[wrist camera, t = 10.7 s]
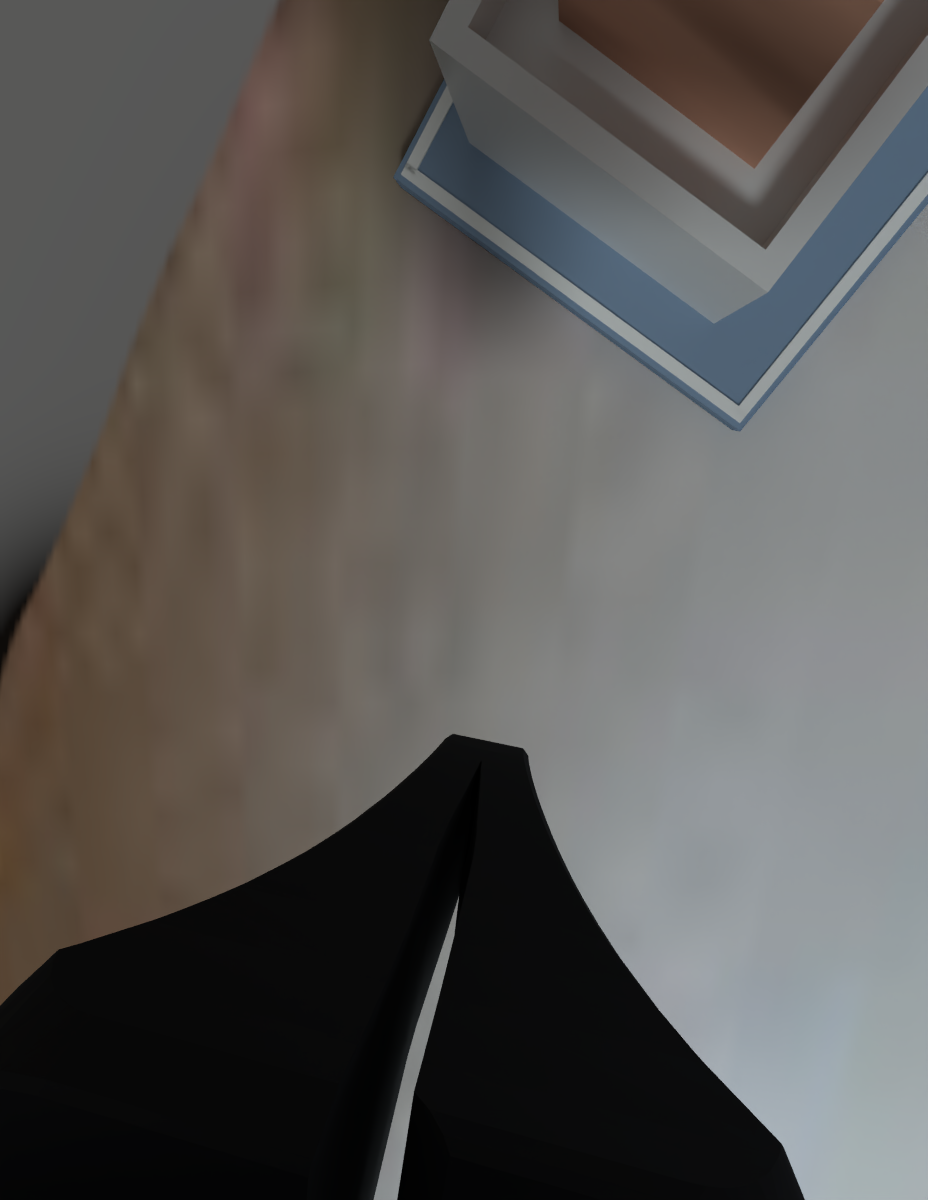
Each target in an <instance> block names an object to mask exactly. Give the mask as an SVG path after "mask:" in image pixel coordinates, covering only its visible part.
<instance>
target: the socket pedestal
mask: <svg viewBox="0 0 928 1200" xmlns="http://www.w3.org/2000/svg"><path fill="white" fill-rule="evenodd" d="M429 41H430V43H431V46H432V49H433V51H434V54H435V56H436V59H437V61H438V64H439V67H440V69H441V72H442V74H443V77H444V79H445V82H446V84H447V87H448V90H449V92H450V95H451V97H452V100H453V102H454V105H455V108H456V110H457V113H458V115H459V118H460V120H461V123H462V125H463V128H464V131H465V133H466V136H467V138H468V141H469V143H470V144H472V145H473V146H474V147H476V148H477V149H478V150H480V151H481V152H482V153H484V154H485V155H486V156H488V157H489V158H491V159H492V160H493V161H495V162H496V163H497V164H499V165H500V166H501V167H503V168H504V169H505V170H507V171H508V172H509V173H511V174H512V175H514V176H515V177H516V178H518V179H519V180H520V181H522V182H523V183H524V184H526V185H527V186H528V187H530V188H531V189H532V190H534V191H535V192H537V193H538V194H539V195H541V196H542V197H543V198H545V199H546V200H547V201H549V202H550V203H551V204H553V205H554V206H555V207H557V208H558V209H559V210H561V211H562V212H564V213H565V214H566V215H568V216H569V217H570V218H572V219H573V220H574V221H576V222H577V223H578V224H580V225H581V226H582V227H584V228H585V229H587V230H588V231H589V232H591V233H592V234H593V235H595V236H596V237H597V238H599V239H600V240H601V241H603V242H604V243H605V244H607V245H608V246H609V247H611V248H612V249H614V250H615V251H616V252H618V253H619V254H620V255H622V256H623V257H624V258H626V259H627V260H628V261H630V262H631V263H632V264H634V265H635V266H637V267H638V268H639V269H641V270H642V271H643V272H645V273H646V274H647V275H649V276H650V277H651V278H653V279H654V280H655V281H657V282H658V283H660V284H661V285H662V286H664V287H665V288H666V289H668V290H669V291H670V292H672V293H673V294H674V295H676V296H677V297H678V298H680V299H681V300H682V301H684V302H685V303H687V304H688V305H689V306H691V307H692V308H693V309H695V310H696V311H697V312H699V313H700V314H701V315H703V316H704V317H705V318H707V319H708V320H710V321H711V322H712V323H716V322H718V321H719V320H721V319H723V318H725V317H726V316H728V315H730V314H732V313H733V312H735V311H737V310H738V309H740V308H742V307H744V306H745V305H747V304H749V303H751V302H752V301H754V300H756V299H758V298H759V297H761V296H763V295H764V294H766V293H768V292H769V290H770V289H771V288H772V287H773V285H774V284H775V283H776V281H777V280H778V279H779V277H780V276H781V275H782V274H783V272H784V271H785V270H786V268H787V267H788V266H789V265H790V263H791V262H792V261H793V259H794V258H795V257H796V255H797V254H798V253H799V252H800V250H801V249H802V248H803V246H804V245H805V244H806V243H807V241H808V240H809V239H810V237H811V236H812V235H813V233H814V232H815V231H816V230H817V228H818V227H819V226H820V224H821V223H822V222H823V221H824V219H825V218H826V217H827V215H828V214H829V213H830V211H831V210H832V209H833V208H834V206H835V205H836V204H837V202H838V201H839V200H840V199H841V197H842V196H843V195H844V193H845V192H846V191H847V190H848V188H849V187H850V186H851V184H852V183H853V182H854V180H855V179H856V178H857V177H858V175H859V174H860V173H861V171H862V170H863V169H864V168H865V166H866V165H867V164H868V162H869V161H870V160H871V158H872V157H873V156H874V155H875V153H876V152H877V151H878V149H879V148H880V147H881V146H882V144H883V143H884V142H885V140H886V139H887V138H888V136H889V135H890V134H891V133H892V131H893V130H894V129H895V127H896V126H897V125H898V124H899V122H900V121H901V120H902V118H903V117H904V116H905V114H906V113H907V112H908V111H909V109H910V108H911V107H912V105H913V104H914V103H915V102H916V100H917V99H918V98H919V96H920V95H921V94H922V92H923V91H924V90H925V89H926V87H927V86H928V0H884V1H883V3H882V4H881V5H880V7H879V8H878V9H877V10H876V12H875V13H874V14H873V16H872V17H871V18H870V20H869V21H868V22H867V23H866V25H865V26H864V27H863V29H862V30H861V31H860V33H859V34H858V35H857V36H856V38H855V39H854V40H853V42H852V43H851V44H850V46H849V47H848V48H847V49H846V51H845V52H844V53H843V55H842V56H841V57H840V58H839V60H838V61H837V62H836V64H835V65H834V66H833V68H832V69H831V70H830V71H829V73H828V74H827V75H826V77H825V78H824V79H823V81H822V82H821V83H820V84H819V86H818V87H817V88H816V90H815V91H814V92H813V94H812V95H811V96H810V97H809V99H808V100H807V101H806V103H805V104H804V105H803V106H802V108H801V109H800V110H799V112H798V113H797V114H796V116H795V117H794V118H793V119H792V121H791V122H790V123H789V125H788V126H787V127H786V129H785V130H784V131H783V132H782V134H781V135H780V136H779V138H778V139H777V140H776V142H775V143H774V144H773V145H772V147H771V148H770V149H769V151H768V152H767V153H766V154H765V156H764V157H763V158H762V160H761V161H760V162H759V164H758V165H757V166H756V167H755V169H754V168H753V167H751V166H750V165H749V164H747V163H746V162H745V161H743V160H742V159H741V158H739V157H738V156H737V155H736V154H734V153H733V152H732V151H730V150H729V149H728V148H726V147H725V146H724V145H722V144H721V143H720V142H718V141H717V140H716V139H714V138H713V137H712V136H710V135H709V134H708V133H707V132H705V131H704V130H703V129H701V128H700V127H699V126H697V125H696V124H695V123H693V122H692V121H691V120H689V119H688V118H687V117H685V116H684V115H683V114H681V113H680V112H679V111H677V110H676V109H675V108H674V107H672V106H671V105H670V104H668V103H667V102H666V101H664V100H663V99H662V98H660V97H659V96H658V95H656V94H655V93H654V92H652V91H651V90H650V89H648V88H647V87H646V86H645V85H643V84H642V83H641V82H639V81H638V80H637V79H635V78H634V77H633V76H631V75H630V74H629V73H627V72H626V71H625V70H623V69H622V68H621V67H619V66H618V65H617V64H615V63H614V62H613V61H612V60H610V59H609V58H608V57H606V56H605V55H604V54H602V53H601V52H600V51H598V50H597V49H596V48H594V47H593V46H592V45H590V44H589V43H588V42H586V41H585V40H584V39H583V38H581V37H580V36H579V35H577V34H576V33H575V32H573V31H572V30H571V29H569V28H568V27H567V26H565V25H564V24H563V23H561V22H560V21H559V9H558V0H449V1H448V3H447V5H446V7H445V9H444V11H443V13H442V15H441V17H440V19H439V21H438V23H437V25H436V27H435V29H434V31H433V33H432V35H431V37H430V39H429Z"/></svg>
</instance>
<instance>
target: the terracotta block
mask: <svg viewBox="0 0 928 1200" xmlns="http://www.w3.org/2000/svg"><path fill="white" fill-rule="evenodd" d="M883 1H884V0H558V9H559V21H560V22H561V23H563V24H564V25H565V26H567V27H568V28H569V29H571V30H572V31H573V32H575V33H576V34H577V35H579V36H580V37H581V38H583V39H584V40H585V41H586V42H588V43H589V44H590V45H592V46H593V47H594V48H596V49H597V50H598V51H600V52H601V53H602V54H604V55H605V56H606V57H608V58H609V59H610V60H612V61H613V62H614V63H615V64H617V65H618V66H619V67H621V68H622V69H623V70H625V71H626V72H627V73H629V74H630V75H631V76H633V77H634V78H635V79H637V80H638V81H639V82H641V83H642V84H643V85H645V86H646V87H647V88H648V89H650V90H651V91H652V92H654V93H655V94H656V95H658V96H659V97H660V98H662V99H663V100H664V101H666V102H667V103H668V104H670V105H671V106H672V107H674V108H675V109H676V110H677V111H679V112H680V113H681V114H683V115H684V116H685V117H687V118H688V119H689V120H691V121H692V122H693V123H695V124H696V125H697V126H699V127H700V128H701V129H703V130H704V131H705V132H707V133H708V134H709V135H710V136H712V137H713V138H714V139H716V140H717V141H718V142H720V143H721V144H722V145H724V146H725V147H726V148H728V149H729V150H730V151H732V152H733V153H734V154H736V155H737V156H738V157H739V158H741V159H742V160H743V161H745V162H746V163H747V164H749V165H750V166H751V167H753V168H754V169H755V167H756V166H757V165H758V164H759V162H760V161H761V160H762V158H763V157H764V156H765V154H766V153H767V152H768V151H769V149H770V148H771V147H772V145H773V144H774V143H775V142H776V140H777V139H778V138H779V136H780V135H781V134H782V132H783V131H784V130H785V129H786V127H787V126H788V125H789V123H790V122H791V121H792V119H793V118H794V117H795V116H796V114H797V113H798V112H799V110H800V109H801V108H802V106H803V105H804V104H805V103H806V101H807V100H808V99H809V97H810V96H811V95H812V94H813V92H814V91H815V90H816V88H817V87H818V86H819V84H820V83H821V82H822V81H823V79H824V78H825V77H826V75H827V74H828V73H829V71H830V70H831V69H832V68H833V66H834V65H835V64H836V62H837V61H838V60H839V58H840V57H841V56H842V55H843V53H844V52H845V51H846V49H847V48H848V47H849V46H850V44H851V43H852V42H853V40H854V39H855V38H856V36H857V35H858V34H859V33H860V31H861V30H862V29H863V27H864V26H865V25H866V23H867V22H868V21H869V20H870V18H871V17H872V16H873V14H874V13H875V12H876V10H877V9H878V8H879V7H880V5H881V4H882V3H883Z"/></svg>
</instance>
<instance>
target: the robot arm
mask: <svg viewBox="0 0 928 1200" xmlns="http://www.w3.org/2000/svg"><path fill="white" fill-rule="evenodd" d="M458 897H459V902H458V910H457V919H456V927H455V936H454V940H453V944H452V948H451V952H450V956H449V960H448V964H447V968H446V972H445V976H444V980H443V984H442V988H441V992H440V996H439V1000H438V1003H437V1007H436V1011H435V1015H434V1019H433V1022H432V1026H431V1030H430V1034H429V1038H428V1042H427V1045H426V1049H425V1053H424V1057H423V1061H422V1064H421V1068H420V1072H419V1076H418V1079H417V1083H416V1087H415V1090H414V1096H413V1102H412V1109H411V1115H410V1122H409V1128H408V1135H407V1141H406V1147H405V1154H404V1160H403V1167H402V1173H401V1180H400V1186H399V1193H398V1199H397V1200H805V1199H804V1197H803V1194H802V1192H801V1189H800V1187H799V1184H798V1182H797V1179H796V1177H795V1174H794V1172H793V1169H792V1167H791V1164H790V1162H789V1160H788V1157H787V1155H786V1152H785V1150H784V1147H783V1146H782V1144H781V1143H780V1142H779V1141H778V1140H777V1139H776V1137H775V1136H774V1135H773V1134H772V1133H771V1132H770V1131H769V1130H768V1129H767V1128H766V1127H765V1126H764V1125H763V1124H762V1123H761V1122H760V1121H759V1120H758V1119H757V1118H756V1117H755V1116H754V1115H753V1114H752V1112H751V1111H750V1110H749V1109H748V1108H747V1107H746V1106H745V1105H744V1104H743V1103H742V1102H741V1101H740V1100H739V1099H738V1098H737V1097H736V1096H735V1095H734V1094H733V1093H732V1092H731V1091H730V1090H729V1088H728V1087H727V1086H726V1085H725V1084H724V1083H723V1082H722V1081H721V1080H720V1079H719V1078H718V1077H717V1076H716V1075H715V1074H714V1073H713V1072H712V1071H711V1070H710V1069H709V1068H708V1067H707V1066H706V1064H705V1063H704V1062H703V1061H702V1060H701V1059H700V1058H699V1057H698V1056H697V1054H696V1053H695V1052H694V1051H693V1050H692V1049H691V1048H690V1046H689V1045H688V1044H687V1043H686V1042H685V1040H684V1039H683V1038H682V1037H681V1036H680V1035H679V1033H678V1032H677V1031H676V1030H675V1029H674V1027H673V1026H672V1025H671V1024H670V1023H669V1022H668V1020H667V1019H666V1018H665V1017H664V1016H663V1014H662V1013H661V1012H660V1011H659V1010H658V1008H657V1007H656V1006H655V1004H654V1003H653V1002H652V1000H651V999H650V998H649V996H648V995H647V994H646V992H645V991H644V989H643V988H642V987H641V985H640V984H639V983H638V981H637V980H636V979H635V977H634V976H633V975H632V973H631V972H630V971H629V969H628V968H627V967H626V965H625V964H624V963H623V961H622V960H621V959H620V957H619V956H618V954H617V953H616V951H615V950H614V948H613V946H612V945H611V943H610V942H609V940H608V939H607V937H606V936H605V934H604V933H603V931H602V929H601V928H600V926H599V925H598V923H597V921H596V920H595V918H594V916H593V915H592V913H591V911H590V910H589V908H588V906H587V905H586V903H585V901H584V899H583V898H582V896H581V894H580V892H579V890H578V888H577V887H576V885H575V883H574V881H573V879H572V877H571V875H570V873H569V871H568V869H567V867H566V865H565V863H564V861H563V859H562V856H561V854H560V852H559V850H558V848H557V846H556V843H555V841H554V839H553V836H552V834H551V831H550V829H549V826H548V824H547V821H546V819H545V816H544V813H543V811H542V808H541V805H540V802H539V800H538V797H537V793H536V790H535V787H534V783H533V780H532V776H531V771H530V766H529V760H528V755H527V753H526V752H525V750H524V749H523V748H519V747H514V746H509V745H504V744H499V743H494V742H490V741H485V740H480V739H475V738H470V737H466V736H461V735H456V734H452V735H450V736H449V737H447V738H446V739H445V740H444V741H443V742H442V743H441V744H440V745H439V747H438V748H437V749H436V750H435V751H434V752H433V753H432V754H431V755H430V756H429V757H428V758H427V759H426V760H425V761H424V762H423V763H422V764H421V765H420V766H419V767H418V768H417V769H416V770H415V771H414V772H412V773H411V774H410V775H409V776H408V777H407V778H406V779H404V780H403V781H402V782H401V783H400V784H399V785H398V786H397V787H395V788H394V789H393V790H392V791H391V792H390V793H388V794H387V795H386V796H385V797H384V798H382V799H381V800H380V801H378V802H377V803H376V804H374V805H373V806H372V807H371V808H369V809H368V810H367V811H365V812H364V813H363V814H361V815H360V816H359V817H358V818H356V819H355V820H354V821H352V822H351V823H349V824H348V825H346V826H345V827H343V828H342V829H341V830H339V831H338V832H336V833H335V834H333V835H332V836H330V837H329V838H327V839H325V840H324V841H322V842H321V843H319V844H317V845H316V846H314V847H312V848H311V849H309V850H308V851H306V852H304V853H302V854H301V855H299V856H297V857H295V858H293V859H292V860H290V861H288V862H286V863H284V864H282V865H280V866H278V867H276V868H274V869H272V870H270V871H268V872H267V873H265V874H263V875H261V876H259V877H257V878H255V879H253V880H251V881H249V882H247V883H245V884H242V885H240V886H238V887H236V888H233V889H231V890H229V891H226V892H224V893H222V894H219V895H217V896H215V897H212V898H210V899H208V900H205V901H202V902H200V903H197V904H195V905H192V906H190V907H187V908H185V909H182V910H180V911H177V912H174V913H172V914H169V915H166V916H163V917H161V918H158V919H155V920H152V921H149V922H146V923H143V924H140V925H137V926H134V927H130V928H127V929H124V930H121V931H118V932H115V933H112V934H109V935H105V936H102V937H99V938H96V939H93V940H90V941H87V942H84V943H80V944H77V945H73V946H70V947H66V948H63V949H59V950H58V951H57V952H56V953H55V954H53V955H52V956H51V957H50V958H49V959H48V960H47V961H46V962H45V963H44V964H43V965H42V966H41V967H40V968H38V969H37V970H36V971H35V972H34V973H33V974H32V975H31V976H30V977H29V978H28V979H27V980H25V981H24V982H23V983H22V984H21V985H20V986H19V987H18V988H17V989H16V990H15V991H14V992H13V993H12V994H11V995H10V996H9V997H8V998H7V999H6V1000H5V1001H4V1002H3V1004H2V1005H1V1006H0V1200H373V1199H374V1195H375V1191H376V1187H377V1182H378V1178H379V1174H380V1170H381V1165H382V1161H383V1157H384V1153H385V1148H386V1144H387V1140H388V1136H389V1131H390V1127H391V1123H392V1119H393V1115H394V1110H395V1106H396V1102H397V1098H398V1094H399V1090H400V1085H401V1081H402V1077H403V1073H404V1069H405V1064H406V1060H407V1056H408V1053H409V1049H410V1046H411V1042H412V1039H413V1035H414V1032H415V1028H416V1025H417V1022H418V1019H419V1016H420V1013H421V1010H422V1007H423V1004H424V1000H425V997H426V994H427V991H428V988H429V985H430V982H431V979H432V976H433V973H434V970H435V967H436V964H437V961H438V958H439V955H440V952H441V949H442V946H443V943H444V940H445V937H446V934H447V931H448V928H449V925H450V922H451V919H452V915H453V912H454V909H455V906H456V903H457V900H458Z"/></svg>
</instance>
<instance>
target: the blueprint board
mask: <svg viewBox="0 0 928 1200" xmlns="http://www.w3.org/2000/svg"><path fill="white" fill-rule="evenodd" d="M394 179H395V180H396V181H397V183H398V184H399V185H400V186H401V188H403V189H404V190H405V191H407V192H408V193H409V194H411V195H412V196H413V197H415V198H416V199H418V200H419V201H420V202H422V203H423V204H424V205H426V206H427V207H429V208H430V209H431V210H433V211H434V212H435V213H437V214H438V215H439V216H441V217H442V218H444V219H445V220H446V221H448V222H449V223H450V224H452V225H453V226H454V227H456V228H457V229H459V230H460V231H461V232H463V233H464V234H465V235H467V236H468V237H469V238H471V239H472V240H474V241H475V242H476V243H478V244H479V245H480V246H482V247H483V248H484V249H486V250H487V251H489V252H490V253H491V254H493V255H494V256H495V257H497V258H498V259H499V260H501V261H502V262H504V263H505V264H506V265H508V266H509V267H510V268H512V269H513V270H515V271H516V272H517V273H519V274H520V275H521V276H523V277H524V278H525V279H527V280H528V281H530V282H531V283H532V284H534V285H535V286H536V287H538V288H539V289H540V290H542V291H543V292H545V293H546V294H547V295H549V296H550V297H551V298H553V299H554V300H555V301H557V302H558V303H560V304H561V305H562V306H564V307H565V308H566V309H568V310H569V311H570V312H572V313H573V314H575V315H576V316H577V317H579V318H580V319H581V320H583V321H584V322H585V323H587V324H588V325H590V326H591V327H592V328H594V329H595V330H596V331H598V332H599V333H601V334H602V335H603V336H605V337H606V338H607V339H609V340H610V341H611V342H613V343H614V344H616V345H617V346H618V347H620V348H621V349H622V350H624V351H625V352H626V353H628V354H629V355H631V356H632V357H633V358H635V359H636V360H637V361H639V362H640V363H641V364H643V365H644V366H646V367H647V368H648V369H650V370H651V371H652V372H654V373H655V374H656V375H658V376H659V377H661V378H662V379H663V380H665V381H666V382H667V383H669V384H670V385H671V386H673V387H674V388H676V389H677V390H678V391H680V392H681V393H682V394H684V395H685V396H687V397H688V398H689V399H691V400H692V401H693V402H695V403H696V404H697V405H699V406H700V407H702V408H703V409H704V410H706V411H707V412H708V413H710V414H711V415H712V416H714V417H715V418H717V419H718V420H719V421H721V422H722V423H723V424H725V425H726V426H727V427H729V428H730V429H732V430H735V431H741V430H742V428H743V427H744V426H745V425H746V424H747V422H748V421H749V420H750V419H751V417H752V416H753V415H754V414H755V413H756V411H757V410H758V409H759V408H760V407H761V405H762V404H763V403H764V402H765V400H766V399H767V398H768V397H769V396H770V394H771V393H772V392H773V391H774V390H775V388H776V387H777V386H778V385H779V383H780V382H781V381H782V380H783V379H784V377H785V376H786V375H787V374H788V373H789V371H790V370H791V369H792V368H793V367H794V365H795V364H796V363H797V362H798V360H799V359H800V358H801V357H802V356H803V354H804V353H805V352H806V351H807V350H808V348H809V347H810V346H811V345H812V343H813V342H814V341H815V340H816V339H817V337H818V336H819V335H820V334H821V333H822V331H823V330H824V329H825V328H826V326H827V325H828V324H829V323H830V322H831V320H832V319H833V318H834V317H835V316H836V314H837V313H838V312H839V311H840V309H841V308H842V307H843V306H844V305H845V303H846V302H847V301H848V300H849V299H850V297H851V296H852V295H853V294H854V293H855V291H856V290H857V289H858V288H859V286H860V285H861V284H862V283H863V282H864V280H865V279H866V278H867V277H868V276H869V274H870V273H871V272H872V271H873V269H874V268H875V267H876V266H877V265H878V263H879V262H880V261H881V260H882V259H883V257H884V256H885V255H886V254H887V252H888V251H889V250H890V249H891V248H892V246H893V245H894V244H895V243H896V242H897V240H898V239H899V238H900V237H901V235H902V234H903V233H904V232H905V231H906V229H907V228H908V227H909V226H910V225H911V223H912V222H913V221H914V220H915V219H916V217H917V216H918V215H919V214H920V212H921V211H922V210H923V209H924V208H925V206H926V205H927V204H928V86H927V87H926V89H925V90H924V91H923V92H922V94H921V95H920V96H919V98H918V99H917V100H916V102H915V103H914V104H913V105H912V107H911V108H910V109H909V111H908V112H907V113H906V114H905V116H904V117H903V118H902V120H901V121H900V122H899V124H898V125H897V126H896V127H895V129H894V130H893V131H892V133H891V134H890V135H889V136H888V138H887V139H886V140H885V142H884V143H883V144H882V146H881V147H880V148H879V149H878V151H877V152H876V153H875V155H874V156H873V157H872V158H871V160H870V161H869V162H868V164H867V165H866V166H865V168H864V169H863V170H862V171H861V173H860V174H859V175H858V177H857V178H856V179H855V180H854V182H853V183H852V184H851V186H850V187H849V188H848V190H847V191H846V192H845V193H844V195H843V196H842V197H841V199H840V200H839V201H838V202H837V204H836V205H835V206H834V208H833V209H832V210H831V211H830V213H829V214H828V215H827V217H826V218H825V219H824V221H823V222H822V223H821V224H820V226H819V227H818V228H817V230H816V231H815V232H814V233H813V235H812V236H811V237H810V239H809V240H808V241H807V243H806V244H805V245H804V246H803V248H802V249H801V250H800V252H799V253H798V254H797V255H796V257H795V258H794V259H793V261H792V262H791V263H790V265H789V266H788V267H787V268H786V270H785V271H784V272H783V274H782V275H781V276H780V277H779V279H778V280H777V281H776V283H775V284H774V285H773V287H772V288H771V289H770V290H769V292H768V293H766V294H764V295H763V296H761V297H759V298H758V299H756V300H754V301H752V302H751V303H749V304H747V305H745V306H744V307H742V308H740V309H738V310H737V311H735V312H733V313H732V314H730V315H728V316H726V317H725V318H723V319H721V320H719V321H718V322H716V323H712V322H711V321H710V320H708V319H707V318H705V317H704V316H703V315H701V314H700V313H699V312H697V311H696V310H695V309H693V308H692V307H691V306H689V305H688V304H687V303H685V302H684V301H682V300H681V299H680V298H678V297H677V296H676V295H674V294H673V293H672V292H670V291H669V290H668V289H666V288H665V287H664V286H662V285H661V284H660V283H658V282H657V281H655V280H654V279H653V278H651V277H650V276H649V275H647V274H646V273H645V272H643V271H642V270H641V269H639V268H638V267H637V266H635V265H634V264H632V263H631V262H630V261H628V260H627V259H626V258H624V257H623V256H622V255H620V254H619V253H618V252H616V251H615V250H614V249H612V248H611V247H609V246H608V245H607V244H605V243H604V242H603V241H601V240H600V239H599V238H597V237H596V236H595V235H593V234H592V233H591V232H589V231H588V230H587V229H585V228H584V227H582V226H581V225H580V224H578V223H577V222H576V221H574V220H573V219H572V218H570V217H569V216H568V215H566V214H565V213H564V212H562V211H561V210H559V209H558V208H557V207H555V206H554V205H553V204H551V203H550V202H549V201H547V200H546V199H545V198H543V197H542V196H541V195H539V194H538V193H537V192H535V191H534V190H532V189H531V188H530V187H528V186H527V185H526V184H524V183H523V182H522V181H520V180H519V179H518V178H516V177H515V176H514V175H512V174H511V173H509V172H508V171H507V170H505V169H504V168H503V167H501V166H500V165H499V164H497V163H496V162H495V161H493V160H492V159H491V158H489V157H488V156H486V155H485V154H484V153H482V152H481V151H480V150H478V149H477V148H476V147H474V146H473V145H472V144H470V143H469V141H468V138H467V136H466V133H465V131H464V128H463V125H462V123H461V120H460V118H459V115H458V113H457V110H456V108H455V105H454V102H453V100H452V97H451V95H450V92H449V90H448V87H447V84H446V82H445V79H444V80H443V82H442V84H441V86H440V88H439V90H438V92H437V94H436V96H435V98H434V100H433V102H432V104H431V106H430V107H429V109H428V111H427V113H426V115H425V117H424V119H423V121H422V123H421V125H420V127H419V129H418V131H417V133H416V135H415V136H414V138H413V140H412V142H411V144H410V146H409V148H408V150H407V152H406V154H405V156H404V158H403V160H402V162H401V164H400V166H399V167H398V169H397V171H396V173H395V175H394Z"/></svg>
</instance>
